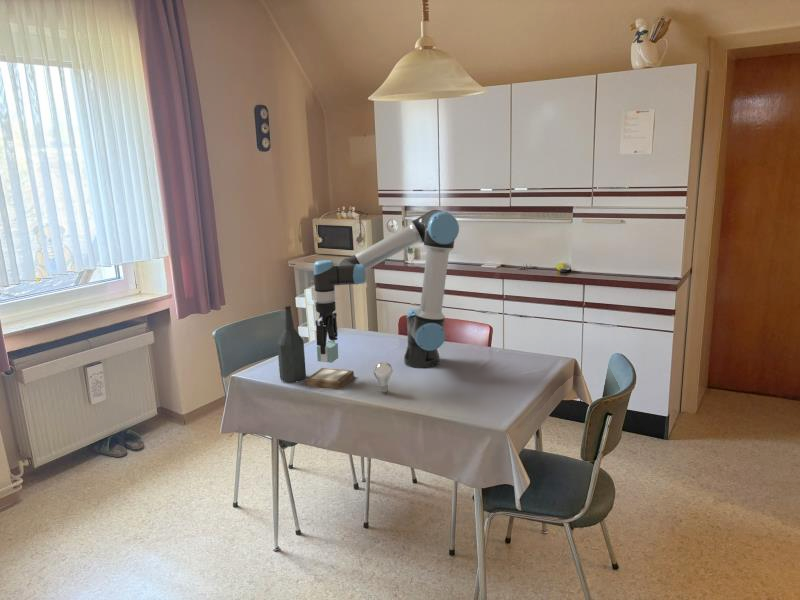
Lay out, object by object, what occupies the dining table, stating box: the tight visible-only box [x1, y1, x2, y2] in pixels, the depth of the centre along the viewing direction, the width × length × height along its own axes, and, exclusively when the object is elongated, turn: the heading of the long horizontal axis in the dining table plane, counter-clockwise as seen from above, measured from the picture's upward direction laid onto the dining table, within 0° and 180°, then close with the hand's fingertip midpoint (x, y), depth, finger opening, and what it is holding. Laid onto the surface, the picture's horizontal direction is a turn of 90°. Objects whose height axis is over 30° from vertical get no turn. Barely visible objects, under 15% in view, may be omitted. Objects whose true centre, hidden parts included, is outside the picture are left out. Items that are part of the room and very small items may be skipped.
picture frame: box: [305, 367, 355, 390], centre depth 240 cm, size 14×14×3 cm
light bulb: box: [373, 361, 394, 394], centre depth 225 cm, size 7×7×12 cm
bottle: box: [276, 304, 307, 383], centre depth 241 cm, size 10×10×30 cm
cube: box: [316, 341, 339, 364], centre depth 237 cm, size 6×6×6 cm
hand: (328, 358), depth 238 cm, fingers closed on cube, 6 cm apart
